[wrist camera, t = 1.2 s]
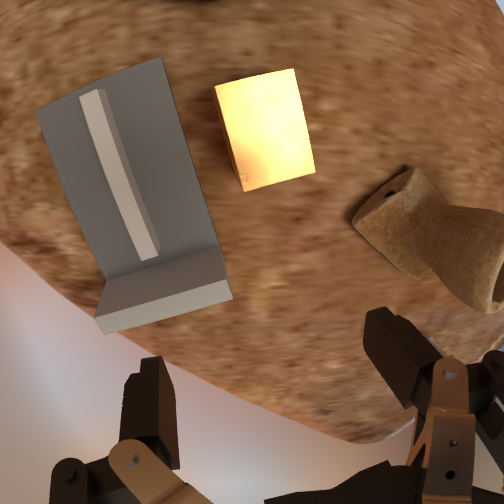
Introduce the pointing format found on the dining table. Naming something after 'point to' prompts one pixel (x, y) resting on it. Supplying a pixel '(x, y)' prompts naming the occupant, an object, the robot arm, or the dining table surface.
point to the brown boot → (437, 239)
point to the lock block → (264, 128)
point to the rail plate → (147, 163)
